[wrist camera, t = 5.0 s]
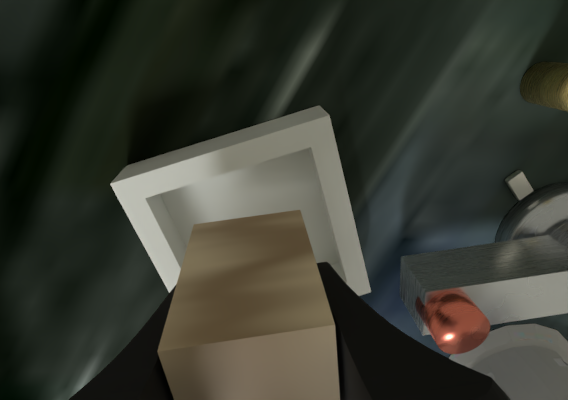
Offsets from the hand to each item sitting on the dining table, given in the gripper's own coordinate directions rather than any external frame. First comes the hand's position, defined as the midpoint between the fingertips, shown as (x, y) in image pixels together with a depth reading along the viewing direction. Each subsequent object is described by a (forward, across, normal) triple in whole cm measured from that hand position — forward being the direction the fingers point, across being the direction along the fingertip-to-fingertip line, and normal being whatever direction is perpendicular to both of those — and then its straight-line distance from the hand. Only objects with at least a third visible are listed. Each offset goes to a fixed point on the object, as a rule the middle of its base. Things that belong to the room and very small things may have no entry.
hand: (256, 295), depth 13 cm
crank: (+4, -12, +3) cm, 13 cm away
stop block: (+2, 0, 0) cm, 2 cm away
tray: (+6, 0, 0) cm, 6 cm away
